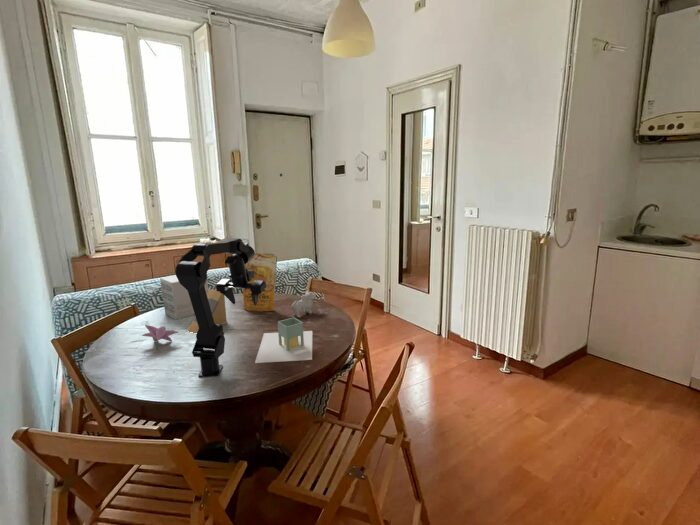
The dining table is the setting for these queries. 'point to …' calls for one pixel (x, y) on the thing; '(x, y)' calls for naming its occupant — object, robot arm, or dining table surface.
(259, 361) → the white rectangular sheet
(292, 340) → the plus sign cube
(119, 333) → the dining table surface
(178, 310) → the supplement box
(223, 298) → the sandwich container
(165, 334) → the lily
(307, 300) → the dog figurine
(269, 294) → the pancake mix bag
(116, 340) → the dining table surface
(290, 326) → the green hollow square frame
